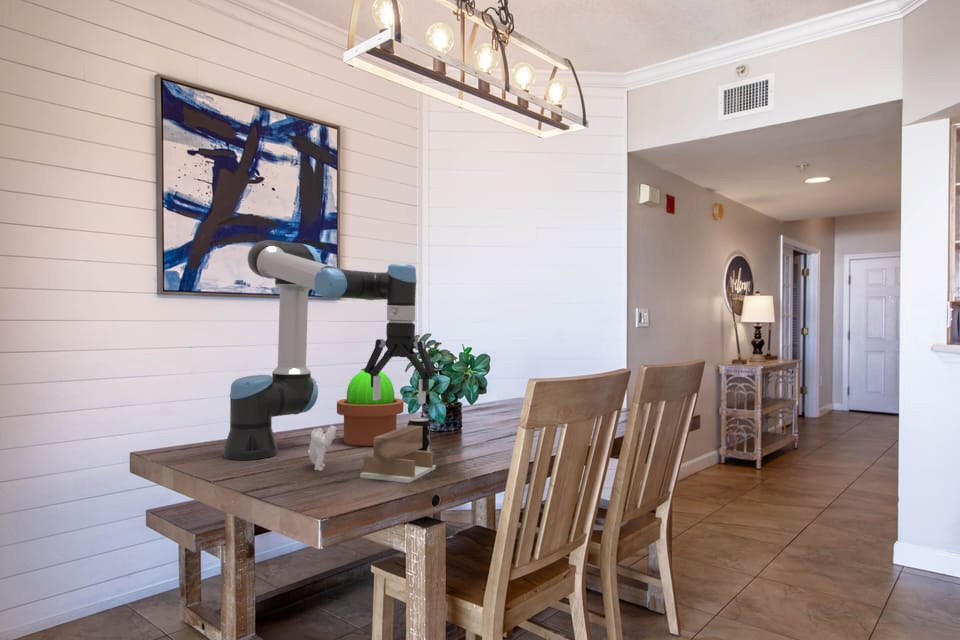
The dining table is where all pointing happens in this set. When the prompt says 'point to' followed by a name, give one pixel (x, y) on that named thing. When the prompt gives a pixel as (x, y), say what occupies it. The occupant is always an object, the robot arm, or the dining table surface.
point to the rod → (397, 443)
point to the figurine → (320, 445)
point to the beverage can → (426, 431)
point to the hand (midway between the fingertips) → (398, 401)
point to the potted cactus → (368, 410)
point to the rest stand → (400, 467)
